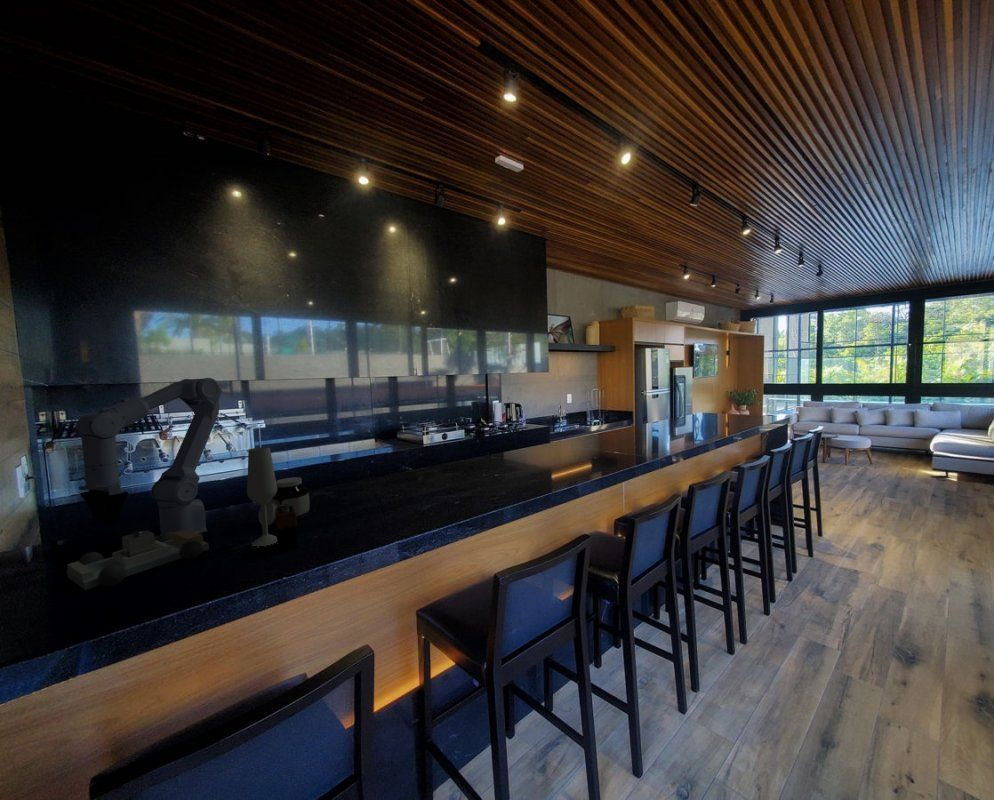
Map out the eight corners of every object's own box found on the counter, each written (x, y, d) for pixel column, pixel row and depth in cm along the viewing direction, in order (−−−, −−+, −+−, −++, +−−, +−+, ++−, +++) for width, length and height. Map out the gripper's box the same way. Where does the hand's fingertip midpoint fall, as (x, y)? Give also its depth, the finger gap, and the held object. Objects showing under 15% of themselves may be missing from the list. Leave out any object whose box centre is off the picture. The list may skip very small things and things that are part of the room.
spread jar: (314, 514, 127) (311, 476, 126) (292, 527, 116) (289, 486, 115) (277, 514, 128) (275, 477, 127) (252, 527, 117) (249, 486, 116)
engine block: (148, 551, 97) (146, 527, 97) (156, 554, 95) (153, 530, 94) (123, 558, 93) (121, 533, 93) (130, 562, 91) (128, 537, 91)
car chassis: (184, 541, 108) (183, 526, 108) (212, 552, 100) (211, 536, 99) (65, 577, 89) (63, 559, 89) (87, 594, 81) (85, 574, 81)
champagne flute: (253, 539, 107) (247, 448, 106) (282, 535, 110) (276, 445, 108) (248, 549, 101) (240, 452, 100) (278, 544, 103) (272, 449, 102)
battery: (296, 539, 106) (293, 501, 105) (298, 548, 100) (295, 508, 99) (277, 543, 104) (274, 504, 103) (278, 552, 98) (275, 511, 97)
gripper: (67, 465, 96) (72, 522, 97) (89, 470, 89) (94, 532, 90) (107, 459, 102) (111, 513, 103) (130, 463, 95) (135, 521, 96)
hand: (106, 521), depth 97 cm, fingers open, 7 cm apart
